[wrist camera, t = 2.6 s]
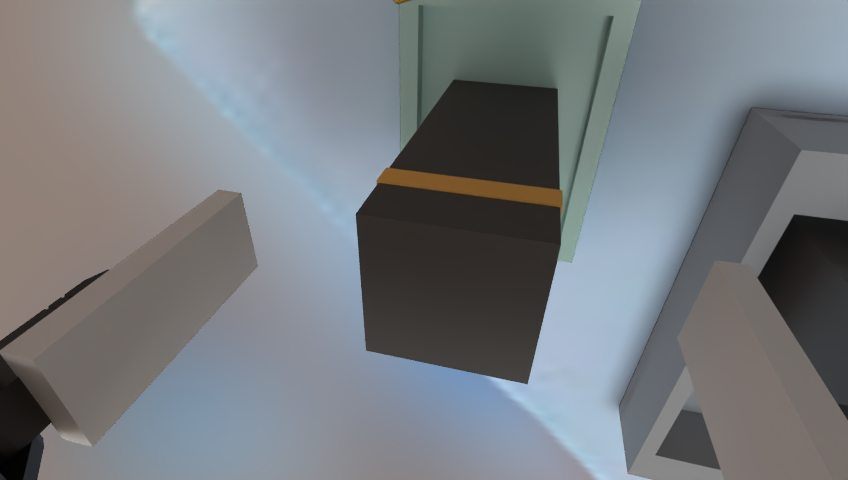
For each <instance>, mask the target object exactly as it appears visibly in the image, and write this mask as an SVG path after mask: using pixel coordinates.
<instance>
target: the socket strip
mask: <svg viewBox="0 0 848 480" xmlns="http://www.w3.org/2000/svg"><path fill="white" fill-rule="evenodd" d="M715 260H718V261H725V262H732V263H739V264H746V265H749V266H750V267H751V269H752V270H753V272H754V274H755V275H756V277H757V278H758V280H759V281H760V283H761V285H762V286H763V288H764V289H765V291H766V292H767V294H768V296H769V297H770V299H771V300H772V302H773V303H774V305H775V307H776V308H777V310H778V311H779V313H780V314H781V316H782V318H783V319H784V321H785V322H786V324H787V325H788V327H789V329H790V330H791V332H792V333H793V335H794V336H795V338H796V340H797V341H798V343H799V344H800V346H801V348H802V349H803V351H804V352H805V354H806V355H807V357H808V359H809V360H810V362H811V363H812V365H813V366H814V368H815V370H816V371H817V373H818V374H819V376H820V377H821V379H822V381H823V382H824V384H825V385H826V387H827V388H828V390H829V392H830V393H831V395H832V396H833V398H834V399H835V401H836V403H837V404H842V405H848V116H839V115H827V114H816V113H805V112H793V111H782V110H770V109H759V108H752V109H751V111H750V113H749V115H748V118H747V120H746V122H745V125H744V127H743V129H742V131H741V134H740V136H739V138H738V140H737V143H736V145H735V147H734V149H733V152H732V154H731V156H730V158H729V161H728V163H727V165H726V167H725V170H724V172H723V174H722V176H721V179H720V181H719V183H718V185H717V188H716V190H715V192H714V194H713V197H712V199H711V201H710V203H709V206H708V208H707V210H706V212H705V215H704V217H703V219H702V221H701V224H700V226H699V228H698V230H697V233H696V235H695V237H694V239H693V242H692V244H691V246H690V248H689V251H688V253H687V255H686V257H685V260H684V262H683V264H682V266H681V269H680V271H679V273H678V275H677V278H676V280H675V282H674V284H673V287H672V289H671V291H670V293H669V296H668V298H667V300H666V302H665V305H664V307H663V309H662V312H661V314H660V316H659V318H658V321H657V323H656V325H655V327H654V330H653V332H652V334H651V336H650V339H649V341H648V343H647V345H646V348H645V350H644V352H643V354H642V357H641V359H640V361H639V363H638V366H637V368H636V370H635V372H634V375H633V377H632V379H631V381H630V384H629V386H628V388H627V390H626V393H625V395H624V397H623V399H622V402H621V404H620V406H619V413H620V421H621V428H622V435H623V443H624V450H625V457H626V464H627V472H628V474H631V475H635V476H639V477H644V478H648V479H652V480H724V477H723V474H722V471H721V468H720V465H719V462H718V459H717V456H716V453H715V450H714V447H713V444H712V441H711V438H710V435H709V432H708V429H707V426H706V423H705V420H704V417H703V414H702V411H701V408H700V405H699V402H698V399H697V396H696V393H695V390H694V387H693V384H692V381H691V378H690V375H689V372H688V369H687V366H686V363H685V360H684V357H683V354H682V351H681V348H680V345H679V342H678V339H677V338H678V336H679V334H680V332H681V330H682V328H683V325H684V323H685V321H686V319H687V317H688V315H689V313H690V311H691V309H692V307H693V305H694V303H695V301H696V299H697V297H698V295H699V292H700V290H701V288H702V286H703V284H704V282H705V280H706V278H707V276H708V274H709V272H710V270H711V268H712V266H713V264H714V262H715Z"/></svg>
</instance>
